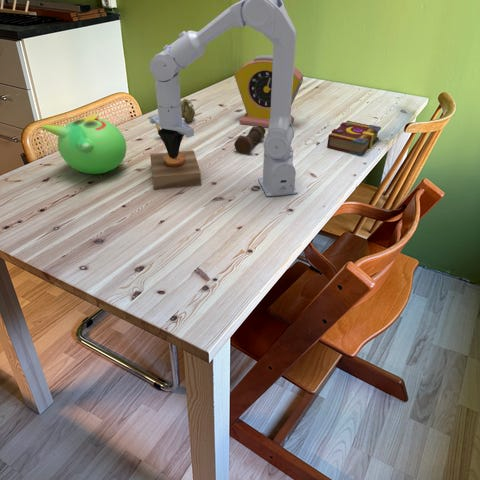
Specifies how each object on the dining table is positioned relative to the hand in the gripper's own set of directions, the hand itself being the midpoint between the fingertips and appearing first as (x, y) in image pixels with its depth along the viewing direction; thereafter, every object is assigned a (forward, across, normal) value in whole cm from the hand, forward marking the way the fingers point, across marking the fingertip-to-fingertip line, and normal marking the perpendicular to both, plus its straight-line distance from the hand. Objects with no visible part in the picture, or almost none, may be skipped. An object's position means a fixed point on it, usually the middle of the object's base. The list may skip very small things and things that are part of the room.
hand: (173, 156), depth 115 cm
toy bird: (+6, +18, +13) cm, 23 cm away
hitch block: (+5, 0, 0) cm, 5 cm away
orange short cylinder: (+5, 0, 0) cm, 5 cm away
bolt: (+6, -2, -30) cm, 30 cm away
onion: (+6, +28, -29) cm, 41 cm away
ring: (+6, +20, -15) cm, 26 cm away
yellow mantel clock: (+6, +6, -47) cm, 48 cm away
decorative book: (+6, -24, -52) cm, 57 cm away
